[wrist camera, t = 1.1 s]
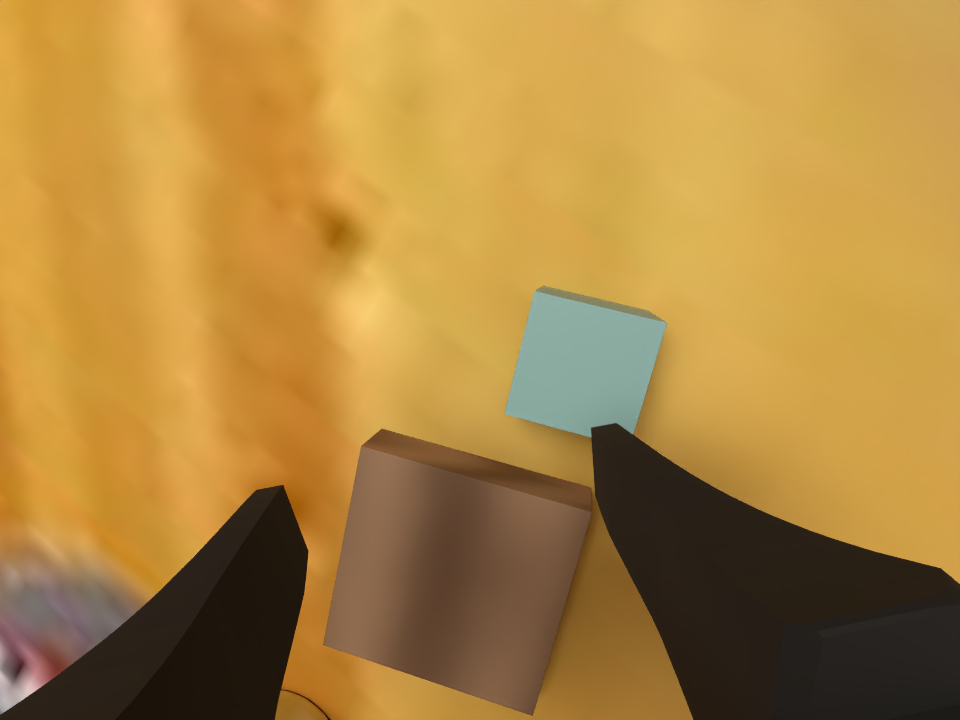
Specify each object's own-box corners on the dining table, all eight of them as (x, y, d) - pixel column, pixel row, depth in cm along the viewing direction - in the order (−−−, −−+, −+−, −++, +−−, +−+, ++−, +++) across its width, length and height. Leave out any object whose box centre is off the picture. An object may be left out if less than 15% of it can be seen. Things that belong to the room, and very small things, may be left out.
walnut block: (590, 483, 25) (591, 512, 22) (537, 667, 27) (532, 715, 24) (384, 426, 26) (361, 446, 23) (349, 606, 28) (323, 644, 25)
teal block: (647, 310, 23) (667, 322, 18) (618, 410, 24) (629, 447, 19) (543, 285, 24) (534, 291, 19) (518, 384, 24) (504, 414, 20)
